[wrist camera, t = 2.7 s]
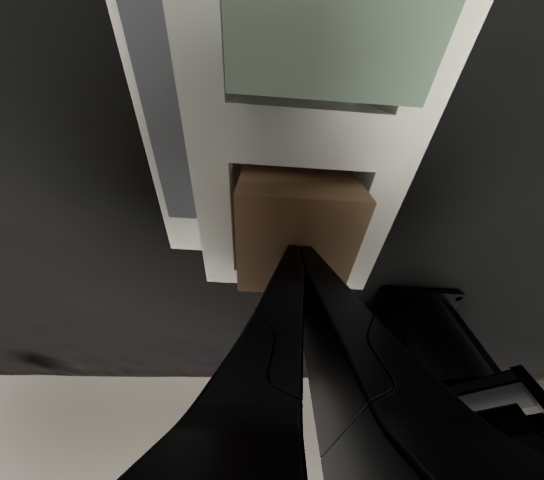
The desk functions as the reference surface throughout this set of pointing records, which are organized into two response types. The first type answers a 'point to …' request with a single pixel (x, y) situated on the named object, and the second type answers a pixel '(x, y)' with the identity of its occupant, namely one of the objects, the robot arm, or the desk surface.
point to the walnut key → (297, 219)
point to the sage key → (337, 48)
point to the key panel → (261, 127)
